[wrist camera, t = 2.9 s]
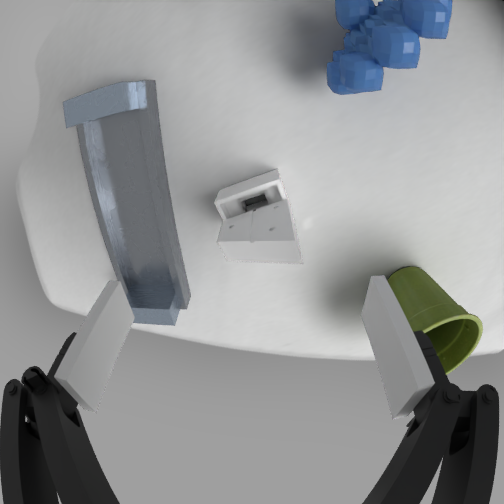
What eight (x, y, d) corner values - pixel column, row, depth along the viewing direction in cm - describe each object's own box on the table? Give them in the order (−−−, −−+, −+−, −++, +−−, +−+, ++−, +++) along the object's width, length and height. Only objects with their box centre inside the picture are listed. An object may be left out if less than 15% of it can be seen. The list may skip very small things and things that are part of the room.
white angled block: (340, 199, 23) (303, 264, 18) (249, 207, 29) (198, 259, 24) (329, 160, 21) (285, 214, 16) (236, 176, 27) (178, 223, 22)
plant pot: (426, 230, 27) (479, 294, 17) (447, 290, 31) (483, 350, 22) (343, 284, 31) (367, 363, 21) (379, 333, 36) (400, 400, 26)
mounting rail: (87, 99, 20) (56, 104, 16) (155, 80, 20) (131, 79, 16) (135, 294, 33) (121, 321, 29) (191, 295, 33) (181, 325, 28)
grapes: (353, -18, 14) (410, -71, 4) (410, 29, 16) (494, 11, 5) (281, 62, 19) (297, 32, 9) (344, 109, 21) (409, 126, 11)
